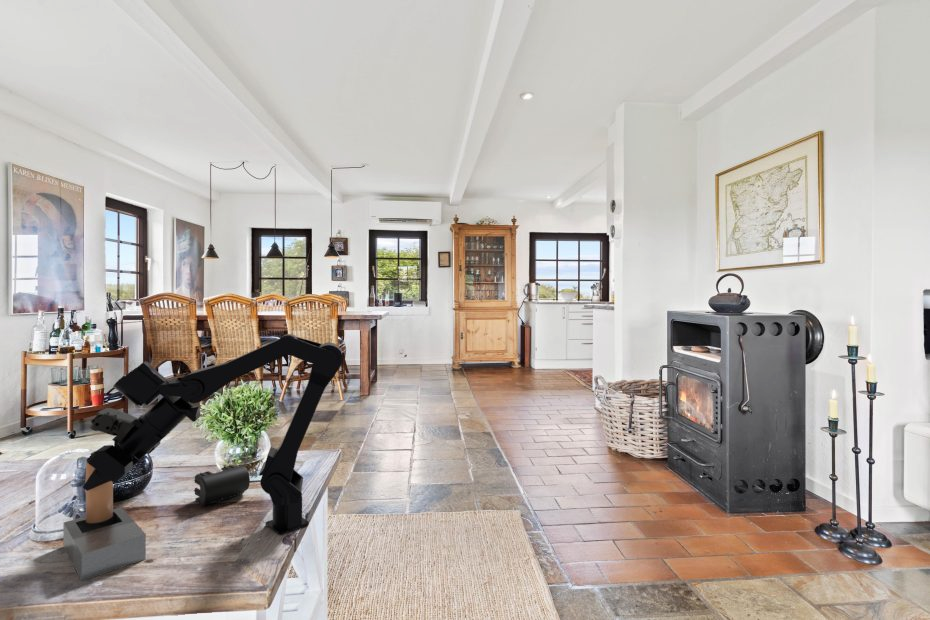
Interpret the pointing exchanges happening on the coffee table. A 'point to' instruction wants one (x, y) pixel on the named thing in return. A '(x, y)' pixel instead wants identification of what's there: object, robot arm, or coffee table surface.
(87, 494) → the plug
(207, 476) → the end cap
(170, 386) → the robot arm
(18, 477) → the coffee table surface
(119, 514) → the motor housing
